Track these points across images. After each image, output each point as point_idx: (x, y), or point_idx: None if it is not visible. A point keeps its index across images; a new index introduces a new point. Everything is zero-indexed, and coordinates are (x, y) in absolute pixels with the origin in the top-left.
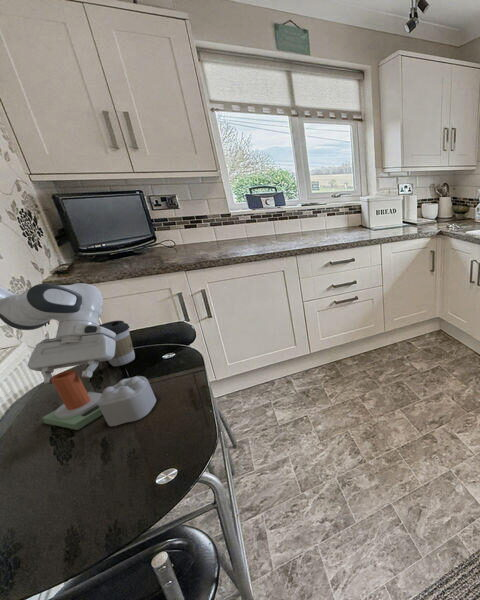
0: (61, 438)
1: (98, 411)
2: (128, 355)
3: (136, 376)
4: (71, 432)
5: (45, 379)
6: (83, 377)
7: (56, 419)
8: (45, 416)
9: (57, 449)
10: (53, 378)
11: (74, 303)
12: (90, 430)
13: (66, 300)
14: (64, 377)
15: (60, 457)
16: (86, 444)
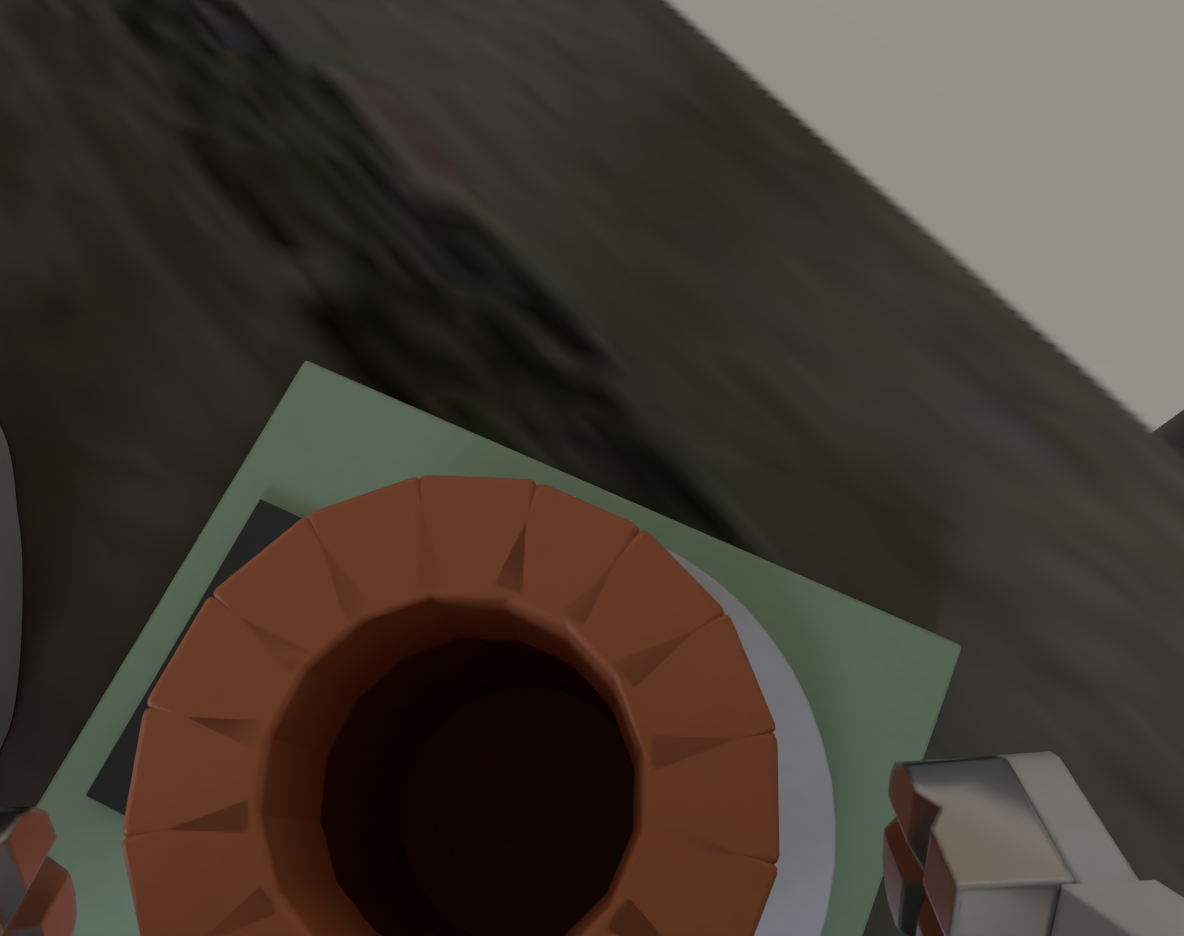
0: (433, 298)
1: (159, 612)
2: None
3: None
4: (384, 376)
5: (1060, 819)
6: (39, 834)
7: (664, 533)
8: (919, 657)
9: (347, 140)
10: (636, 612)
11: None
12: (162, 357)
13: None
14: (279, 572)
15: (233, 31)
16: (73, 144)
